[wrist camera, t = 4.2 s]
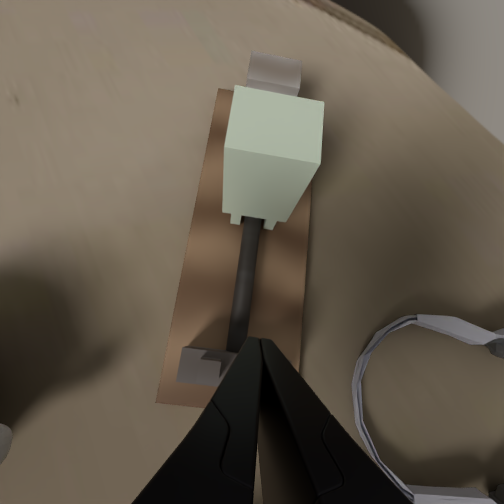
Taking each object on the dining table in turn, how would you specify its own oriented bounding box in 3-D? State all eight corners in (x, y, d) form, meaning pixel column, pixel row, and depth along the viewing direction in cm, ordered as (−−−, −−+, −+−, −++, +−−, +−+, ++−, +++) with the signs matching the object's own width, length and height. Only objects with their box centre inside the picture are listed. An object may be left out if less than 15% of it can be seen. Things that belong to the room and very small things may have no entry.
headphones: (584, 340, 25) (350, 299, 27) (672, 339, 20) (371, 287, 22) (623, 598, 20) (331, 522, 22) (757, 693, 14) (352, 580, 17)
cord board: (292, 414, 22) (321, 446, 15) (158, 399, 21) (133, 426, 15) (314, 113, 30) (339, 55, 24) (218, 95, 29) (218, 30, 23)
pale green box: (280, 231, 24) (320, 164, 15) (221, 222, 24) (224, 146, 14) (284, 189, 25) (324, 101, 16) (228, 180, 25) (235, 84, 16)
